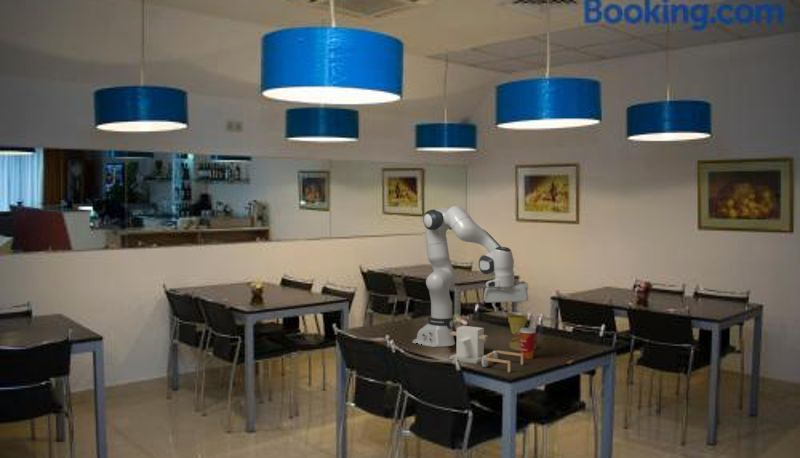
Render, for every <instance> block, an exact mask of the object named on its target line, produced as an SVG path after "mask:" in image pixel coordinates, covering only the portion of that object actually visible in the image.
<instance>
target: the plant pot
mask: <svg viewBox="0 0 800 458" xmlns="http://www.w3.org/2000/svg"><path fill="white" fill-rule="evenodd" d="M507 320H508V321H507V322H508V323H509V330H510V334H512V335H515V332H519V331H520V328H526V324H527V322H528V317H527V316H526V315H523V314H510V315H508V317H507Z"/></svg>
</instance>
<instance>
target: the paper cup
mask: <svg viewBox="0 0 800 458" xmlns="http://www.w3.org/2000/svg"><path fill="white" fill-rule="evenodd" d="M519 332H520V345H521V351H520V353H521V354H523V360H532V359H533V358H534V353H535V352H534V351H535V350H534V340H535V336H536V330H535V328H534V327H533V328H532V327H524V328H520V331H519Z"/></svg>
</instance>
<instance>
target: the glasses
mask: <svg viewBox="0 0 800 458" xmlns="http://www.w3.org/2000/svg"><path fill="white" fill-rule="evenodd" d="M499 354H502V355H511V356H517V357H520V365H522V366H523V365H524V359H523V354H521V352H519V353H518V352H511V351H506V350H505V351H504V350H493V351H491V352H489V353H488V354H484V356H483V358H482V361H481V366H482V368H487V367H488V366H489V362H493V363H503V364H507V373H511V366H512V365H511V363H512V362H511V360H505V359H499ZM485 355H486V356H485Z"/></svg>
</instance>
